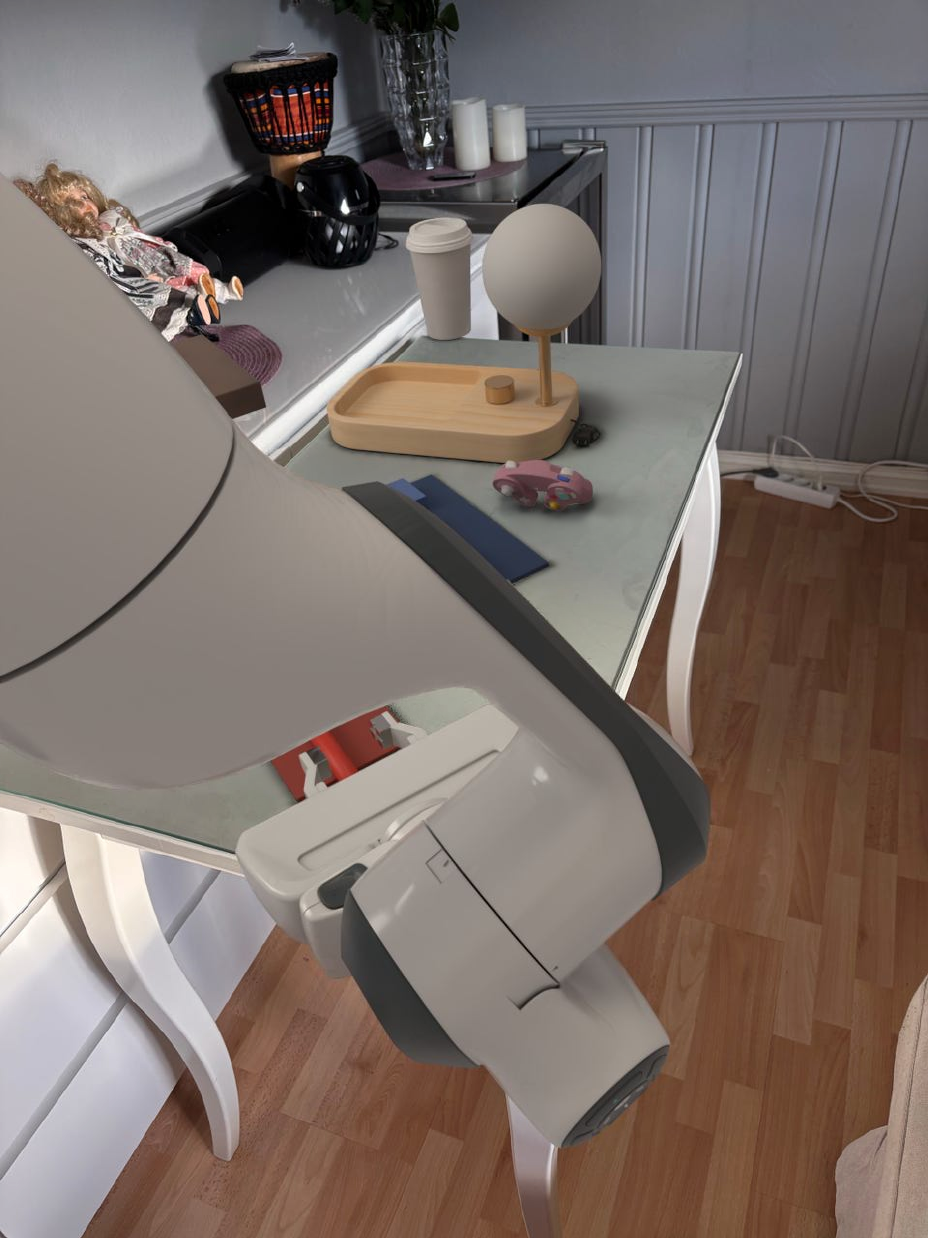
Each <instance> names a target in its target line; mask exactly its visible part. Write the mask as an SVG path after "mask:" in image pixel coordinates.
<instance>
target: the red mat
mask: <svg viewBox="0 0 928 1238" xmlns="http://www.w3.org/2000/svg"><path fill="white" fill-rule="evenodd" d="M386 711H388V712H389V714H390V715H391V716H392V717H393V718H394V719H395V721H396V722H397V723H399V722H400V721H399V720H398V719H397V717H396V716H395V715H394V714H393V713H392V712H391V710H390V709H389V708H388V707H387V705H386V706H384V707H381V708H379V709H376V710H374V711H371V712H369V713H366V714H363V715H361V716H359V717H357V718H355V719H353V720H350V721H348V722H346V723H344V724H342V725H340V726H337V727H335V728H333V729H331V730H329V731H330V732H331V734H332V735H333V736H334V738H335V739H336V741H337V742H338V743H339V745H340V746H341V748H342V749H343V750H344V752H345V753H346V755H347V756H348V757H349V759H350V760H351V762H352V763H353V764H354V766H355V767H356V768H357V770H358V771H361V770H363V769H365V768H367V767H369V766H370V765H372V764H374V763H376V762H378V761H380V760H382V759H384V758H386V757H388V756H390V755H392V754H393V753H395V752H397V751H399V750H401V749H402V748H400V747H397V746H395V745H392V746H390V747H388V748H385V749H382V748H381V746H380V745H379V743H378V741H376V740H375V739H374V737H373V736H372V733H371V731H370V728H371V726H370V725H369V722H368V721H369V720H370V719H372V718H374V717H376V716H378V715H380V714H382V713H384V712H386ZM314 747H315V746H314V745H313V743H312V742H311V740H309V741H307V742H305V743H303V744H302V745H300V746H298V747H296V748H294V749H292V750H290V751H288V752H287V753H285V754H283V755H281V756H279V757H277V758H275V759H272V760H270V762H271V763H272V765H273V767H274V768H275V770H276V771H277V773H278V774H279V776H280V777H281V779H282V781H283V782H284V784H285V785H286V786H287V788H288V789H289V791H290V793H291V794H292V796H293V797H294V799H295V801H296V802H297V803H300V802H302V801H303V800H305V799H306V796H305V793H304V785H305V778H306V774H305V772H304V770H303V768H302V766H301V762H300V759H299V755H300V754H302V753H304V752H306V751H308V750H310V749H312V748H314ZM331 772H332V771H331ZM322 782H324V783H325V785H326V786H327V787H330V786H332V785H334V784H336V783H338V782H339V781H338V780H337V778H336V777H335V775H334V774H333V772H332V776H331V777H330V778H328V779H326V780H324V781H322Z"/></svg>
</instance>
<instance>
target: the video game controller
mask: <svg viewBox="0 0 928 1238" xmlns="http://www.w3.org/2000/svg"><path fill="white" fill-rule="evenodd" d="M492 487H493V488H494V490H495V491H497V492H498V493H500V494H502V495H503V496H505V497H508V498H512V499H513V500H514V501H515V502H517V503H518V504H519V505H521V506H523V507H534V506H535V505H536V503H537V500H538V497H539V493H538V492H542V493H545V495H544V499H543V505H544V506H545V507H547V508H548V509H550V510H553V511H557V512H558V511H563V510H564V509H566V507H567V506H569V505H575V504H577V505H585V504H587V503H589V502H590V501H592V498H593V495H594V487H593V483H592V482H591V481H590V479H587V478H585V477H584V476H583V475H582V474H581V473H580V472H578V471H576V470H573V468H571V467H561V466H559V465H557V464H552V463H551V462H549V461H547V460H544V459H541V460H530V461H523V462H518V463H515V462H514V461H507V462H506V463H503V464H502V465H501V466H500V467H499V468H498V470H497V471H496V473H495V474H494V477H493V480H492Z"/></svg>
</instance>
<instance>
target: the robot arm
mask: <svg viewBox="0 0 928 1238" xmlns="http://www.w3.org/2000/svg"><path fill="white" fill-rule="evenodd" d="M171 344H172V343H171V342H169V341H168V339H167V338H166V337H165V336H164V335H163V333H162V332H161V331H160V330H159V329H158V328H157V326H155V324H154V323H153V322H152V321H151V320H150V319H149V317H148V316H147V315H146V314H145V313H144V312H143V311H142V309H140V308H139V307H138V305H136V304H135V302H133V300H132V299H131V298H130V297H129V296H128V295H127V294H126V293H125V292H124V291H123V290H122V289H121V288H120V287H119V286H118V284H117V283H116V282H115V281H114V280H113V279H112V278H111V277H110V276H109V275H108V274H107V273H106V272H105V270H103V268H101V267H100V265H98V263H97V262H96V261H95V260H94V259H93V258H92V257H91V256H89V254H88V253H87V252H85V250H84V249H83V248H82V247H80V245H79V244H78V243H76V242H75V241H74V240H73V239H72V237H71V236H69V235H68V234H67V232H65V231H64V230H63V229H62V228H61V227H60V226H59V225H58V224H57V223H56V222H55V221H54V220H53V219H52V218H51V217H49V216H48V214H47V213H45V211H43V209H42V208H41V207H40V206H39V205H37V203H35V202H34V201H33V200H32V199H31V198H30V197H28V196H27V195H26V194H25V193H24V191H22V190H21V189H20V188H19V187H18V186H16V185H15V184H14V183H13V182H12V181H11V180H10V179H8V177H6V176H5V174H3V172H1V171H0V744H1V745H2V746H4V747H6V748H7V749H9V750H11V751H12V752H14V753H16V754H18V755H19V756H21V757H22V758H25V759H27V760H28V761H30V762H32V763H34V764H36V765H38V766H40V767H42V768H44V769H47V770H49V771H51V772H53V773H56V774H59V775H61V776H63V777H66V778H69V779H72V780H75V781H78V782H81V783H85V784H87V785H91V786H96V787H101V788H106V789H112V790H113V789H114V790H125V791H146V790H162V789H165V790H166V789H173V788H174V789H175V788H182V787H188V786H194V785H197V784H204V783H208V782H213V781H217V780H221V779H225V778H228V777H232V776H235V775H238V774H240V773H244V772H247V771H249V770H252V769H255V768H258V767H259V766H261V765H263V764H266V763H268V762H271V760H272V759H275V758H277V757H279V756H281V755H283V754H285V753H287V752H288V751H290V750H292V749H294V748H296V747H298V746H300V745H302V744H303V743H305V742H307V741H309V740H311V739H313V738H315V737H317V736H319V735H321V734H323V733H325V732H327V731H329V730H331V729H333V728H335V727H337V726H340V725H342V724H344V723H346V722H348V721H350V720H353V719H355V718H357V717H359V716H361V715H363V714H366V713H369V712H371V711H374V710H376V709H379V708H381V707H384V706H386V707H387V706H388V705H392V704H394V703H397V702H400V701H403V700H405V699H408V698H412V697H415V696H419V695H422V694H425V693H429V692H434V691H439V690H445V689H446V690H447V689H455V688H457V689H458V688H459V689H468V690H472V691H474V692H476V693H477V694H478V695H480V697H482V698H483V699H485V700H486V701H487V702H488V704H485V705H483V706H481V707H480V708H477V709H475V710H474V711H472V712H470V713H468V714H466V715H463V716H462V717H460V718H458V719H457V720H455V721H453V722H450V723H449V724H447V725H445V726H443V727H441V728H439V729H437V730H436V731H433V732H432V733H428V732H427V731H426V730H425V729H424V728H422V727H418V726H414V725H411V724H408V723H403V722H400V721H399V723H397V722H396V721H395V719H394V718H393V717H392V716H391V715H390V714H389V712H388V711H386V712H384V713H382V714H380V715H378V716H376V717H374V718H372V719H370V720H369V721H368V722H369V725H370V726H371V728H370V731H371V733H372V736H373V737H374V739H375V740H376V741H378V743H379V745H380V746H381V748H382V749H385V748H388V747H390V746H392V745H395V746H397V747H400V748H401V749H399V750H397V751H396V752H394V753H392V754H390V755H388V756H386V757H384V758H382V759H380V760H378V761H376V762H375V763H373V764H371V765H369V766H367V767H365V768H363V769H361V770H359V772H357V773H355V774H353V775H351V776H349V777H348V778H346V779H344V780H342V781H340V782H339V781H338V782H336V783H334V784H333V785H331V786H329V787H327V786H326V785H325V783H324V782H322V781H324V780H326V779H328V778H330V777H331V776H332V772H331V769H330V768H329V762H328V758H327V757H326V756H325V754H324V753H323V752H321V749H320V747H319V746H316V747H314V748H312V749H310V750H308V751H306V752H304V753H302V754H300V755H299V759H300V762H301V766H302V768H303V770H304V772H305V774H306V778H305V785H304V793H305V796H306V799H304V800H302V801H300V802H297V804H294V805H292V806H290V807H288V808H287V809H284V810H283V811H280V812H279V813H277V814H275V815H273V816H271V817H269V818H267V819H266V820H263V821H261V822H260V823H259V822H258V824H256V825H253V826H252V827H249V828H248V829H246V830H244V831H243V832H242V833H241V834H240V835H239V837H238V840H237V842H236V845H235V849H234V854H235V857H236V859H237V862H238V865H239V867H240V869H241V872H242V874H243V876H244V878H245V881H246V882H247V883H248V885H249V887H250V889H251V891H252V892H253V894H254V895H255V897H256V899H257V900H258V902H259V903H260V904H261V906H262V907H263V909H264V910H265V911H266V913H267V914H268V916H270V918H271V919H272V920H273V921H274V922H275V924H276V925H277V926H278V927H279V928H280V930H281V931H283V933H284V934H285V935H286V936H288V937H289V938H290V939H292V940H293V941H295V942H297V943H299V944H303V945H307V946H309V948H310V950H311V952H312V954H313V956H314V958H315V960H316V962H317V963H318V965H319V967H320V968H321V970H322V971H323V972H324V974H325V975H326V976H327V977H328V978H329V979H332V980H341V979H345V978H349V977H352V978H353V980H354V982H355V983H356V985H357V987H358V988H359V990H360V992H361V994H362V995H363V997H364V999H365V1000H366V1002H367V1004H368V1005H369V1008H370V1009H371V1010H372V1012H373V1014H374V1016H375V1017H376V1019H377V1020H378V1022H379V1024H380V1026H381V1028H383V1030H384V1032H385V1033H386V1035H387V1036H388V1038H389V1039H390V1040H391V1042H392V1043H393V1044H394V1046H395V1047H396V1048H397V1049H398V1050H399V1051H400V1052H401V1053H402V1054H403V1055H404V1056H406V1057H407V1058H409V1059H410V1060H412V1061H413V1062H417V1063H421V1064H429V1065H437V1066H444V1067H452V1068H461V1069H479V1068H480V1066H484V1067H485V1069H486V1070H487V1072H488V1073H489V1074H490V1075H491V1076H492V1078H493V1079H494V1081H495V1082H496V1083H497V1084H498V1085H499V1087H500V1088H501V1089H502V1090H503V1092H504V1093H505V1094H506V1096H507V1097H508V1098H509V1099H510V1100H511V1101H512V1102H513V1104H514V1105H515V1106H516V1107H517V1108H518V1109H519V1111H520V1112H521V1113H522V1114H523V1115H524V1117H525V1118H526V1119H527V1120H528V1121H529V1122H530V1124H532V1125H533V1127H534V1128H535V1129H536V1130H537V1131H538V1132H539V1133H540V1134H541V1135H542V1136H543V1137H544V1139H546V1140H547V1141H548V1142H549V1143H550V1144H551V1145H552V1146H555V1147H556V1148H558V1149H567V1148H570V1147H578V1146H580V1145H582V1144H584V1143H586V1142H588V1141H590V1140H592V1139H594V1138H595V1137H596V1136H598V1135H600V1134H601V1131H603V1130H604V1129H605V1128H606V1127H608V1126H610V1125H611V1124H613V1123H614V1121H616V1120H617V1119H618V1118H619V1117H620V1116H621V1115H622V1114H623V1113H624V1112H625V1111H626V1110H627V1109H628V1108H629V1107H631V1105H633V1103H634V1102H636V1100H638V1098H640V1096H642V1094H643V1093H645V1091H647V1089H648V1088H649V1086H650V1085H651V1083H652V1082H653V1081H655V1080H656V1079H657V1077H658V1076H659V1075H660V1073H661V1071H662V1070H663V1067H664V1066H665V1064H666V1061H667V1059H668V1058H667V1057H668V1053H669V1051H670V1046H671V1039H670V1037H669V1035H668V1033H667V1031H666V1029H665V1028H664V1026H663V1024H662V1022H661V1021H660V1019H659V1018H658V1016H657V1014H656V1013H655V1011H654V1010H653V1008H652V1007H651V1004H650V1003H649V1002H648V1000H647V999H646V996H644V994H643V992H642V991H641V990H640V988H639V986H638V985H637V984H636V982H635V981H634V979H633V978H632V976H631V974H630V973H629V972H628V971H627V970H626V968H625V967H624V965H623V964H622V962H620V960H619V958H618V957H617V956H616V954H615V953H614V952H613V951H612V949H611V948H610V947H609V946H608V944H607V942H608V941H609V940H610V939H611V938H612V937H613V936H614V935H615V934H616V933H617V932H618V931H619V930H621V929H622V928H623V927H624V926H625V925H627V923H628V922H629V921H630V920H631V919H632V918H634V916H635V915H637V914H638V913H639V912H640V911H641V910H642V909H643V908H644V907H645V906H646V905H648V903H650V902H651V901H655V900H656V899H658V898H659V897H661V896H662V895H663V894H664V893H666V892H667V891H668V890H669V889H670V888H672V887H673V886H674V885H676V884H677V883H678V882H679V881H681V880H682V879H683V878H685V877H686V876H687V875H688V874H690V873H691V872H692V871H693V870H695V869H697V867H699V866H700V865H701V864H702V863H704V862H705V861H706V859H707V852H708V846H709V840H710V829H711V816H712V815H711V813H712V811H711V810H712V807H711V805H712V803H711V791H710V789H709V787H708V785H707V784H706V783H705V782H704V780H703V777H702V774H701V772H700V771H699V770H698V768H697V766H696V764H695V763H694V761H693V760H692V758H691V757H690V755H689V754H688V753H687V752H686V750H685V749H684V748H683V747H682V746H681V744H680V743H679V742H678V741H677V740H676V739H675V738H674V737H673V736H672V735H671V734H670V733H669V732H668V731H667V730H666V729H665V728H664V727H662V726H661V725H660V724H659V723H658V722H656V721H655V720H654V719H652V717H650V716H649V715H647V714H646V713H645V712H643V711H642V710H640V709H638V708H637V707H635V706H634V705H632V704H631V703H629V702H628V701H625V700H624V699H623V697H621V696H620V695H619V694H618V692H616V691H615V689H614V688H612V686H611V685H610V684H609V683H608V682H607V681H606V680H605V679H604V678H603V677H602V676H601V675H600V673H598V672H597V670H595V668H594V667H593V666H592V665H591V664H590V663H589V662H588V661H587V660H586V658H584V657H583V656H582V655H581V654H580V653H579V652H578V651H577V650H576V649H575V647H574V646H573V645H571V643H570V642H569V641H568V640H567V639H566V638H565V637H564V636H563V635H562V634H561V633H560V632H559V631H558V630H557V629H556V628H555V627H554V625H552V624H551V622H550V621H548V619H546V617H545V616H544V615H543V614H542V613H541V612H540V611H539V610H538V609H537V608H536V607H535V606H534V605H533V604H532V603H531V602H530V601H529V600H528V598H526V597H525V596H524V594H523V593H522V592H521V591H520V590H519V589H518V588H517V587H516V586H515V585H514V584H512V583H511V582H510V581H509V580H508V579H507V580H506V579H505V578H504V577H503V576H502V575H501V574H500V573H499V572H498V571H497V570H496V569H495V568H494V567H493V566H492V565H491V564H490V563H489V562H488V561H487V560H486V559H485V558H484V557H483V556H482V555H481V554H480V553H478V552H477V551H476V550H475V549H474V548H473V547H472V546H471V545H470V544H469V543H468V542H467V541H466V540H464V539H463V538H462V537H461V536H460V535H459V534H458V533H457V532H455V531H454V530H453V529H452V528H451V527H450V526H448V525H447V524H446V523H445V522H443V521H442V520H441V519H440V518H438V517H437V516H436V515H434V514H433V513H432V512H430V511H429V510H428V509H426V508H425V507H424V506H422V505H421V504H419V503H418V502H416V501H415V500H413V499H412V498H410V497H408V496H407V495H405V494H403V493H401V492H399V491H398V490H396V489H394V488H392V487H390V486H387V484H385V483H382V482H380V481H371V482H365V483H358V484H353V485H348V486H347V485H346V486H341V489H338V488H334V487H332V486H331V487H330V486H327V485H324V484H320V483H317V482H315V481H312V480H309V479H306V478H305V477H302V476H300V475H298V474H296V473H294V472H292V471H290V470H289V469H287V468H285V467H284V466H282V465H280V464H278V463H277V462H276V461H275V460H273V459H272V458H270V456H268V455H267V454H265V452H263V451H262V450H261V449H260V448H259V447H258V446H257V445H255V444H254V442H252V441H251V440H250V439H249V438H248V437H247V435H246V434H245V432H243V431H242V429H240V427H239V426H238V424H237V423H236V422H235V420H234V419H232V418H231V417H230V416H229V415H228V413H227V412H226V411H225V409H224V408H223V407H222V406H221V404H220V403H219V402H218V401H217V399H216V398H215V397H214V396H213V394H212V393H211V392H210V391H209V389H208V388H207V387H206V386H205V384H204V383H203V382H202V381H201V379H200V378H199V377H198V376H197V374H196V373H195V372H194V371H193V369H192V368H191V367H190V366H189V365H188V363H187V362H186V361H185V360H184V359H183V358H182V356H181V355H180V354H179V353H178V352H177V351H176V350H175V348H174V347H173V346H172V345H171Z"/></svg>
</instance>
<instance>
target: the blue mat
mask: <svg viewBox="0 0 928 1238" xmlns="http://www.w3.org/2000/svg"><path fill="white" fill-rule="evenodd" d="M409 483H410V484H411V485H413V486H414V487H415V488H417V489H418V490H419V491H420V492H422V493H423V494H424V495H425V496H426V498H427V505H428V510H429V511H430V512H432V513H433V514H434V515H436V516H437V517H438V518H440V519H441V520H442V521H443V522H445V523H446V524H447V525H448V526H450V527H451V528H452V529H453V530H454V531H455V532H457V533H458V534H459V535H460V536H461V537H462V538H463V539H464V540H466V541H467V542H468V543H469V544H470V545H471V546H472V547H473V548H474V549H475V550H476V551H477V552H478V553H480V554H481V555H482V556H483V557H484V558H485V559H486V560H487V561H488V562H489V563H490V564H492V566H493V567H494V568H495V569H496V570H497V571H498V572H499V573H500V574H501V575H502V576H503V577H504V578H505V579H506V580H507V579H508V580H509V581H510V582H511V584H512V583H515V582H517V581H520V580H521V579H523V578H526V577H528V576H530V575H532V574H534V573H536V572H538V571H540V570H543V569H544V568H547V567H549V566H550V562H549V560H546V559H545V557H543V556H541V555H540V554H538V553H537V552H536V551H534V550H533V549H532V548H530V547H529V546H527V545H526V544H525V543H524V542H522V541H521V540H519V538H517V537H516V536H514V534H512V533H510V532H509V531H508V530H507V529H505V528H504V527H502V526H501V524H498V523H497V522H496V521H494V520H493V519H491V518H490V517H489V516H488V515H487V514H485V513H484V512H483V511H481V510H479V509H478V508H477V507H476V506H474V504H472V503H470V502H469V501H467V500H466V499H465V498H463V497H462V496H461V495H459V494H458V493H457V492H455V491H454V490H453V489H451V488H450V487H449V486H448V485H446V484H445V483H443V481H440V480H439V479H438V477H436V476H435V475H433V474H429V475H426V476H424V477H422V478H419V479H417V480H413V481H412V482H409Z"/></svg>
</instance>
